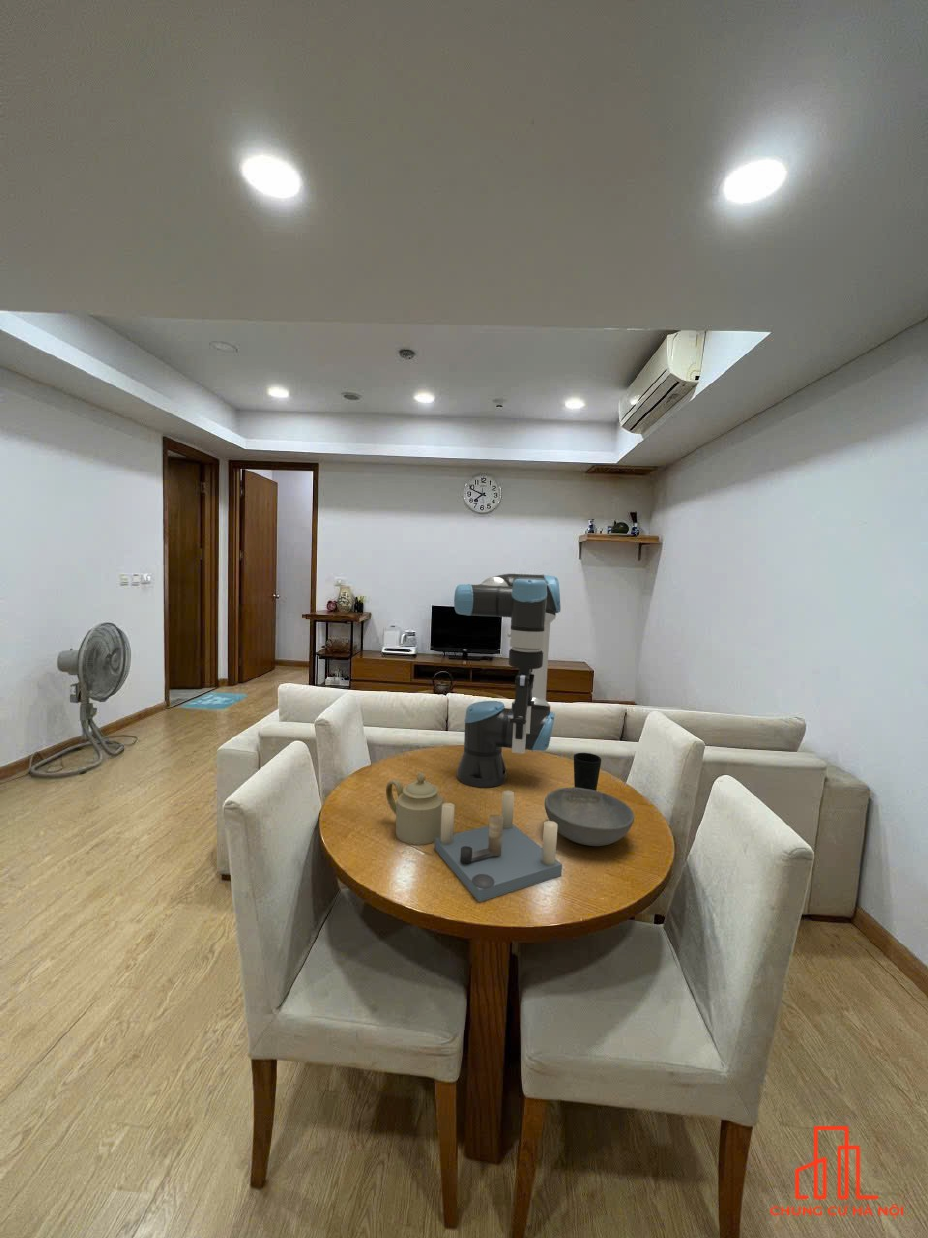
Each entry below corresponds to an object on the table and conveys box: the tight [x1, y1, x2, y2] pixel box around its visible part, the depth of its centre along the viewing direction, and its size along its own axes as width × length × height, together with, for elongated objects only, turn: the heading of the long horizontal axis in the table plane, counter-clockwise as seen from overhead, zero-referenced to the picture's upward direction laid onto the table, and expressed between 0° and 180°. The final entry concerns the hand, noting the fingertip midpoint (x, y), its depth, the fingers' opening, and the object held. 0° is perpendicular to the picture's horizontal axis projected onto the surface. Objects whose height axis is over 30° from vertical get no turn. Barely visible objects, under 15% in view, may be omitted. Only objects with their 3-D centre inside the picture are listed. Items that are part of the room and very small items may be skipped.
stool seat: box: [433, 790, 563, 903], centre depth 106 cm, size 20×20×11 cm
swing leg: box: [460, 814, 503, 864], centre depth 103 cm, size 10×3×8 cm, turn 118°
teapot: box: [385, 772, 444, 846], centre depth 117 cm, size 15×11×15 cm
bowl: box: [544, 786, 635, 847], centre depth 119 cm, size 21×21×8 cm
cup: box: [573, 752, 602, 791], centre depth 139 cm, size 8×8×12 cm
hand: (521, 742), depth 111 cm, fingers open, 13 cm apart
